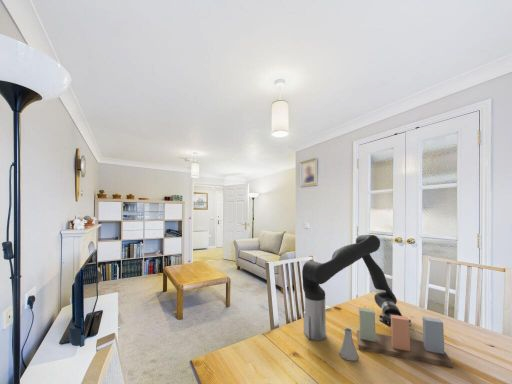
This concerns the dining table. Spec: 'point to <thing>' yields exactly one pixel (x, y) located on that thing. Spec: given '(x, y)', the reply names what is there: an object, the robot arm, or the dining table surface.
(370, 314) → the sage tab
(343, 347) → the flask
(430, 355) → the brown wooden flat board
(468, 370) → the dining table surface
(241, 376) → the dining table surface
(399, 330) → the terracotta tab
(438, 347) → the slate tab
